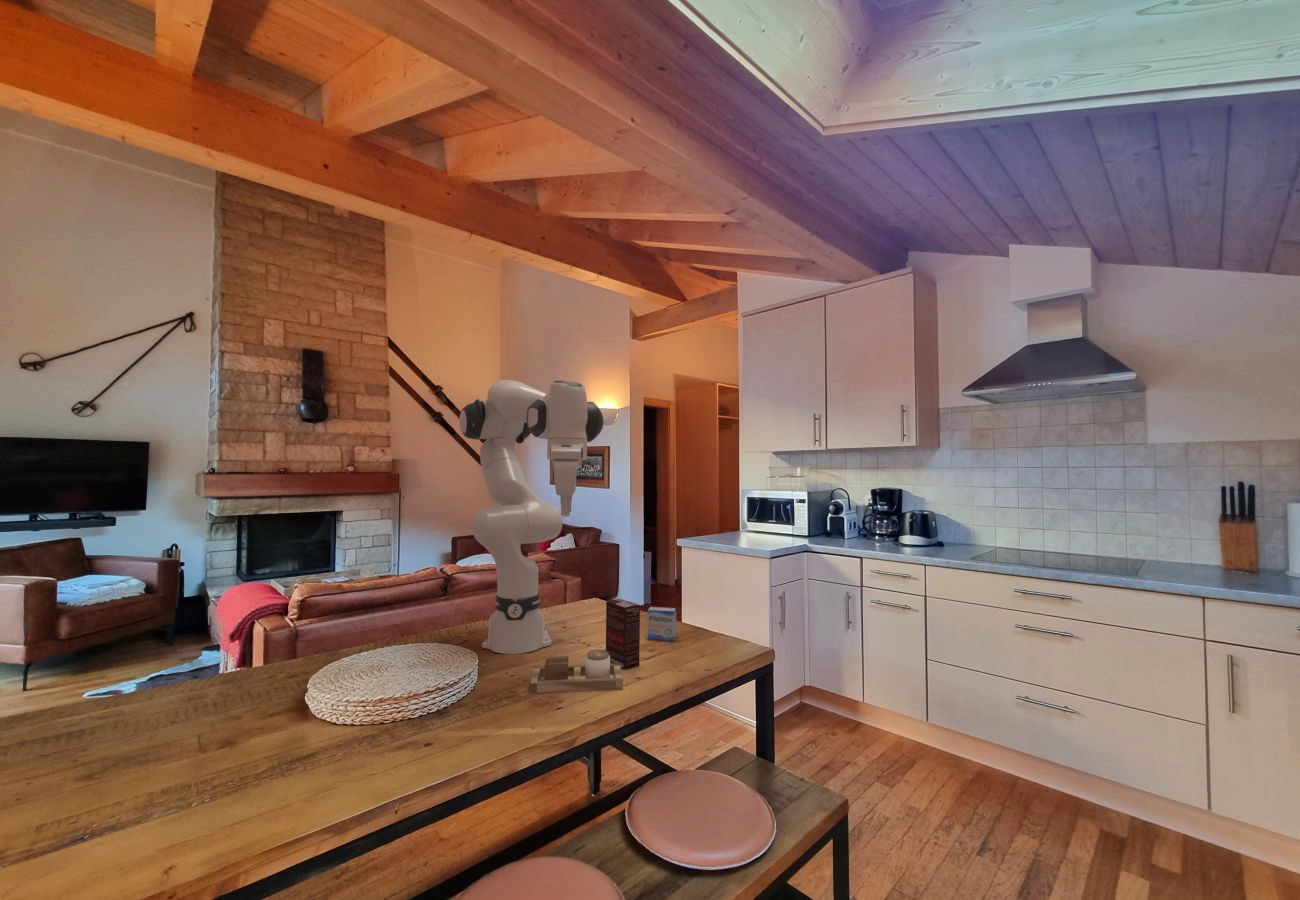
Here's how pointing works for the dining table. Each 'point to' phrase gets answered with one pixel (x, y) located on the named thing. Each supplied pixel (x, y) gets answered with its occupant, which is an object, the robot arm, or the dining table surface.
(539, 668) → the organizer
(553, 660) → the walnut block
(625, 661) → the supplement box
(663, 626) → the medicine box
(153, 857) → the dining table surface
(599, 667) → the cream ceramic jar
